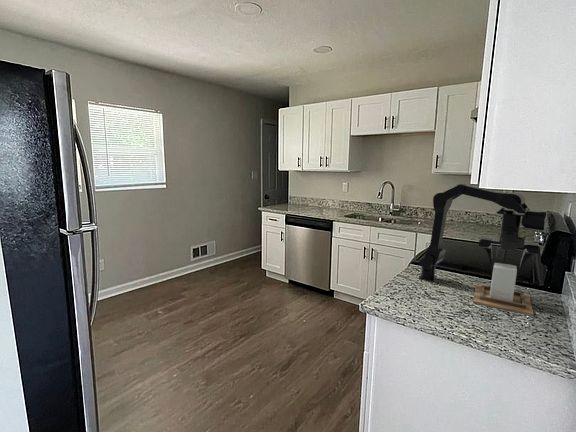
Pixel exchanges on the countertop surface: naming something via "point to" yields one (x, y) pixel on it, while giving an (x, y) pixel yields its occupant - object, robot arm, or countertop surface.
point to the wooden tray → (518, 305)
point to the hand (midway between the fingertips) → (505, 266)
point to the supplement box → (503, 282)
